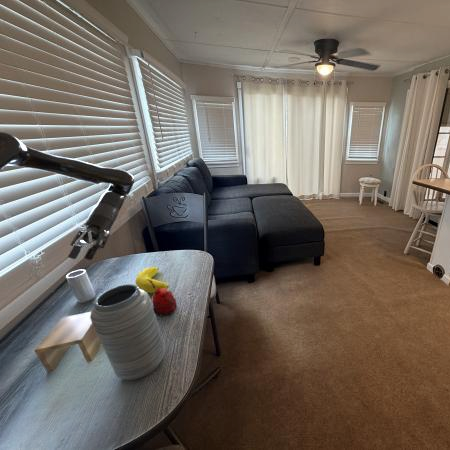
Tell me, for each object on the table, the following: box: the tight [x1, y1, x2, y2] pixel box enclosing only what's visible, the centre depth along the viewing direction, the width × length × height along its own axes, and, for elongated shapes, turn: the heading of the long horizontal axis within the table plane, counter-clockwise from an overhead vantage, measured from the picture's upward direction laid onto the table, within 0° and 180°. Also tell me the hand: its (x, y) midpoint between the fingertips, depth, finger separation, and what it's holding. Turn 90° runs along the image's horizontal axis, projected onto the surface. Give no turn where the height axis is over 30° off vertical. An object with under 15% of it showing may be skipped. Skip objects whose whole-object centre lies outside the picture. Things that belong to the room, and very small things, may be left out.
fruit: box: [135, 266, 169, 294], centre depth 98 cm, size 10×5×20 cm
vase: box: [90, 283, 166, 381], centre depth 60 cm, size 12×12×23 cm
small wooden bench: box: [34, 311, 102, 373], centre depth 68 cm, size 10×12×8 cm
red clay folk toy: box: [148, 277, 178, 317], centre depth 81 cm, size 8×7×15 cm
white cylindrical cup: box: [65, 269, 96, 304], centre depth 90 cm, size 6×6×11 cm
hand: (79, 258), depth 82 cm, fingers open, 8 cm apart
